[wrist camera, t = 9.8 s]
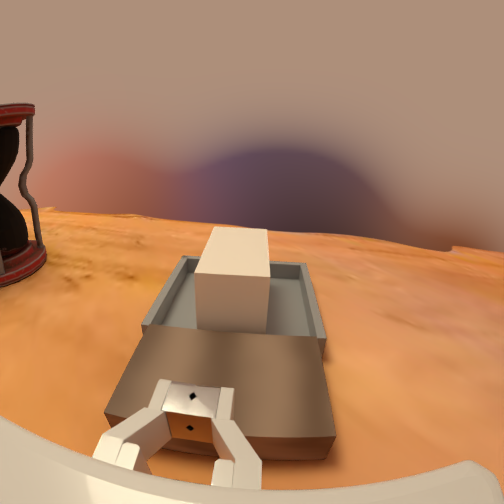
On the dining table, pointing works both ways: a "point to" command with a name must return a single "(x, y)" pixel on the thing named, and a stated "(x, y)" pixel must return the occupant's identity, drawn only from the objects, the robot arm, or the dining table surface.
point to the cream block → (233, 281)
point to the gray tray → (279, 304)
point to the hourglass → (5, 213)
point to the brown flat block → (238, 387)
